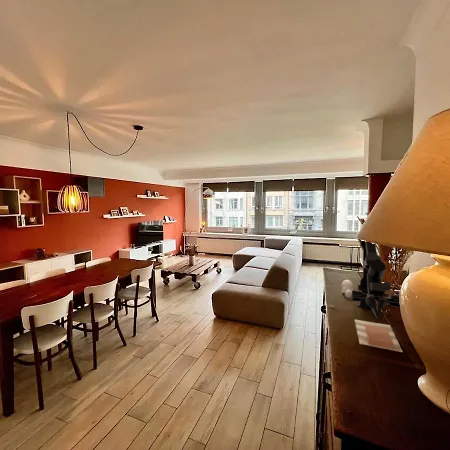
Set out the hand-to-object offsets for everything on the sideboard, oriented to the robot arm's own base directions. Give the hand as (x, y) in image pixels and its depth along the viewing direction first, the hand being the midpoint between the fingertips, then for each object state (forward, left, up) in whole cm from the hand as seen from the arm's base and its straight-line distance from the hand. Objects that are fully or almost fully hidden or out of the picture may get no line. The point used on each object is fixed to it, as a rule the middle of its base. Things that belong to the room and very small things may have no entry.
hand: (377, 317), depth 101 cm
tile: (-3, -1, -6) cm, 7 cm away
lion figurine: (-51, -8, -9) cm, 52 cm away
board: (-2, -1, -9) cm, 9 cm away
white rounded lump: (-43, -24, -9) cm, 50 cm away
